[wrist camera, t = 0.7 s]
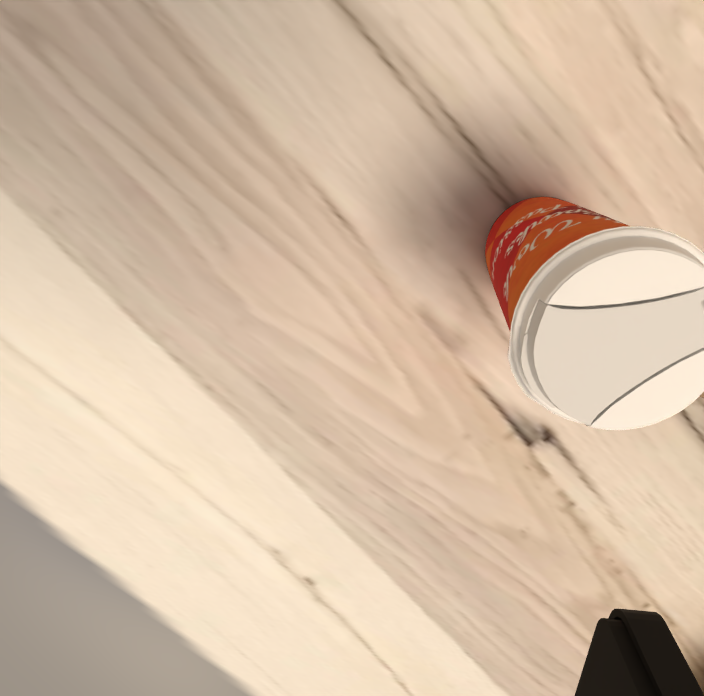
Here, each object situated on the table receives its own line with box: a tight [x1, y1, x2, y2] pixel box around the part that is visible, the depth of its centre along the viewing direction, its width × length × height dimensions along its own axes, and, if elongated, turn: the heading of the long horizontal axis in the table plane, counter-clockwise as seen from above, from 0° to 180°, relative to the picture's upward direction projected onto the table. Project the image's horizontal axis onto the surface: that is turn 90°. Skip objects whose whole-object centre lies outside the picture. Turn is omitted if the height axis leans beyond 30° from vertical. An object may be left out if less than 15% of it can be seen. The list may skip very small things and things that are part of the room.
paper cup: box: [485, 197, 704, 430], centre depth 29 cm, size 8×8×14 cm
